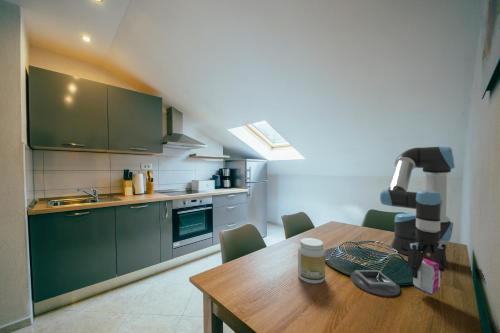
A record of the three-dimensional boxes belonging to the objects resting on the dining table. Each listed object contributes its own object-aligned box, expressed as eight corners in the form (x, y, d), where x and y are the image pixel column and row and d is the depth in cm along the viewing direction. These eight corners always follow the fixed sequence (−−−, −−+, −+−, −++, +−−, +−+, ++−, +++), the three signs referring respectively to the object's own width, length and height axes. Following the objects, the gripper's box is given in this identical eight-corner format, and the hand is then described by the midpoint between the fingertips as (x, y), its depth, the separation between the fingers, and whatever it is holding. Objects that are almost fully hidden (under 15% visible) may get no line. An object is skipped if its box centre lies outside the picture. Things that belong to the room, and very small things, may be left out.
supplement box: (432, 295, 80) (432, 266, 80) (414, 287, 85) (414, 260, 85) (439, 291, 83) (439, 263, 82) (421, 283, 88) (421, 257, 88)
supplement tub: (330, 282, 93) (331, 245, 93) (306, 286, 89) (307, 247, 89) (314, 269, 104) (315, 236, 104) (293, 272, 101) (293, 238, 101)
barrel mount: (380, 272, 103) (380, 266, 103) (411, 296, 84) (412, 289, 84) (343, 272, 102) (343, 266, 102) (366, 296, 83) (366, 289, 83)
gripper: (442, 226, 87) (441, 279, 88) (396, 226, 87) (395, 280, 87) (461, 232, 80) (460, 290, 80) (410, 232, 79) (409, 291, 80)
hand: (426, 285), depth 84 cm, fingers closed on supplement box, 7 cm apart
